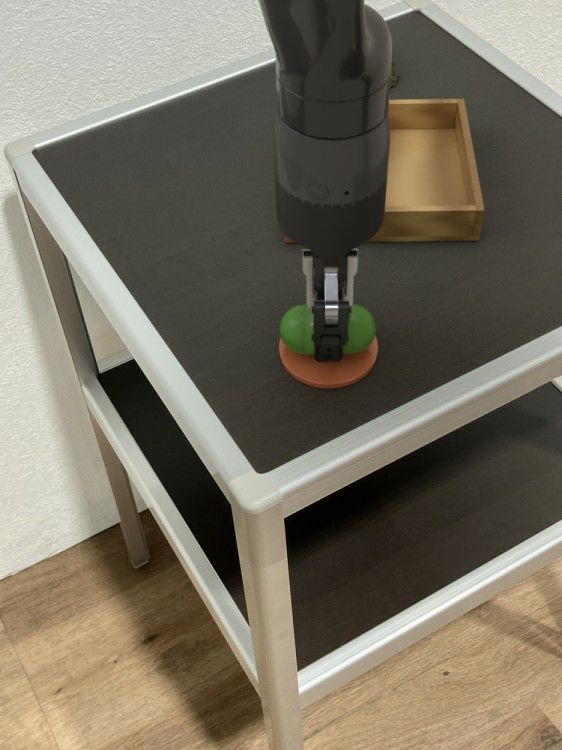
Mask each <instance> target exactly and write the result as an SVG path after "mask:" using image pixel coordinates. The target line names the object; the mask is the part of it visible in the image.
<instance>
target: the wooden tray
mask: <svg viewBox="0 0 562 750" xmlns="http://www.w3.org/2000/svg"><path fill="white" fill-rule="evenodd" d="M467 112H468V111H467V106H466V101H465V99H464V98H421V99H419V98H418V99H417V98H415V99H414V98H412V99H411V98H410V99H389V125H390V150H389V163H388V176H387V190H386V203H385V215H384V221H383V223H382V226H381V228H380V229H379V231H378V232H377V233H376V234H375V235H374V236H373V237H372V238H371V239H370V240H368V241H367V242H366V243H393V242H395V243H396V242H397V243H398V242H402V243H403V242H405V243H406V242H407V243H408V242H410V243H411V242H412V243H413V242H479V241H480V239H481V233H482V229H483V228H482V227H483V221H484V216H485V205H484V199H483V194H482V188H481V184H480V183H481V182H480V177H479V172H478V167H477V162H476V157H475V156H476V155H475V150H474V144H473V140H472V135H471V129H470V123H469V118H468V113H467ZM283 234H284V235H283V237H284V238H283V240H284V243H285V244H297V243H296V242H294V241H293V240H291V239H290V238H289V237H288V236H287V235H286V234H285V233H284V232H283Z"/></svg>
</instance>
